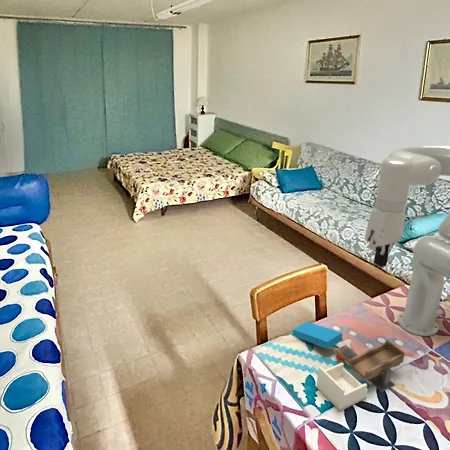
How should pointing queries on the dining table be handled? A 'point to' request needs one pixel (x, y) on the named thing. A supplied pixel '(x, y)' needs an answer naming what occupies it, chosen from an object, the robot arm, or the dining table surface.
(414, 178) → the robot arm
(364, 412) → the dining table surface
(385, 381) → the stand
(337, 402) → the box
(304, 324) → the lever
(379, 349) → the brown shallow tray
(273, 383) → the dining table surface
